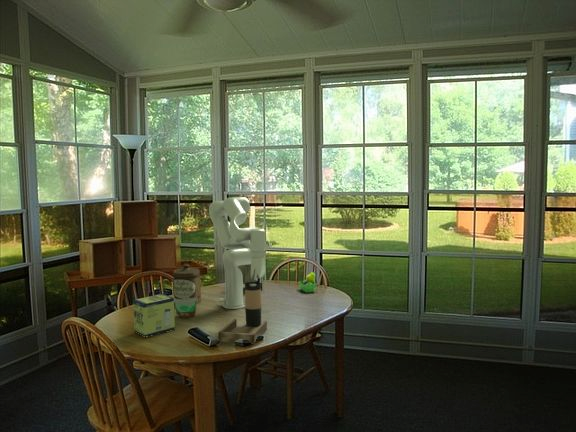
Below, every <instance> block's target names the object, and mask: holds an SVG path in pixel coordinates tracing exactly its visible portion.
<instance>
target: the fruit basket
mask: <svg viewBox="0 0 576 432" xmlns="http://www.w3.org/2000/svg"><path fill="white" fill-rule="evenodd" d="M305 278H306V279H304V280H299V281H298V283H299V285H300V289H301V290H302V291H303V292H305V293H314V292H315V289H316V285H317V283H316V282H315V280H316V274H315V272H314V271H311V272H310V273H309V274H308V275H306V277H305Z"/></svg>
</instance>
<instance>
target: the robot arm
mask: <svg viewBox="0 0 576 432" xmlns="http://www.w3.org/2000/svg"><path fill="white" fill-rule="evenodd" d="M250 207H251V205H250V202H249V199H248V198H247V197H245V196H233V197H227V198H225V199H224V200H215V201H213V202H211V203H210V204H209V208H208V213H209V217H210V220H211V222H212V224H213V225H214V227H215V229H216V232H217V235H218V239H219V243H220V245H221V247H222V248H224V249H226V250H224V252H223V253H222V262H223V267H224V286H225V287H224V289H225V290H224V291H225V295H224V296H225V297H219V298H218V302H219V303H223V304H222V307H223V308H224V309H227V310H228V309H229V310H238V309H243V308H245V301H244V284H243V275H242V272H241V270H240V269H239V268H238V266H240V265H248V264H251V278H253V277H254V281H255V282H259V283H261V292H262V291H263V282H262V277H263V275H264V276H265V274H266V262H265V261H266V260H265V258H266V257H267V255H266V254H267V251H266V250H267V248H266V244H267V243H266V230H265V229H263V228H259V227H257V226H252V227H240V228H239V226H241V225H242V224H244V223H245V222H246V220H247V217H248V216H247V213H248V211H249V210H250ZM224 216H226V217H227V216H228V217H229V219H230V221H229V220H228V219H227V218H226V217H224Z"/></svg>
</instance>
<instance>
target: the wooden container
mask: <svg viewBox="0 0 576 432" xmlns="http://www.w3.org/2000/svg"><path fill="white" fill-rule="evenodd" d="M172 274H173V298H176V299H181V298H194V297H196V296H197V298H198V301H197V302H196V305H197V304H200V303H201V302H202V292H201V291H202V288H201V272H200V269H198V268H194V267H190V264H189V263H184V264H183V265H182V268H180V269H175V270H173V272H172Z"/></svg>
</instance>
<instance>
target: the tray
mask: <svg viewBox="0 0 576 432" xmlns="http://www.w3.org/2000/svg"><path fill="white" fill-rule="evenodd" d="M237 323H238V322H237V318H233V319H232V320H231V321H230V322H229V323H228V324H226V325H225V326H224V327H223V328H222V329H221V330H219V331H218V332H217V336H218V337H217V340H218V341H219V342H220V343H233V344H235V343H234V342H235V341H236V340H239V339H246V340H248V341H249V342H251V344H250V345H255V344H256V343H255V342H257V341H256V339H257V337H258V336H260V335H262V336H263V334H264V333H265V332H266V331H267V329H268V320H263V321H262V322H261V325H260V326H258V327H248V326H237V325H238V324H237ZM219 342H218V343H219Z"/></svg>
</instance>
